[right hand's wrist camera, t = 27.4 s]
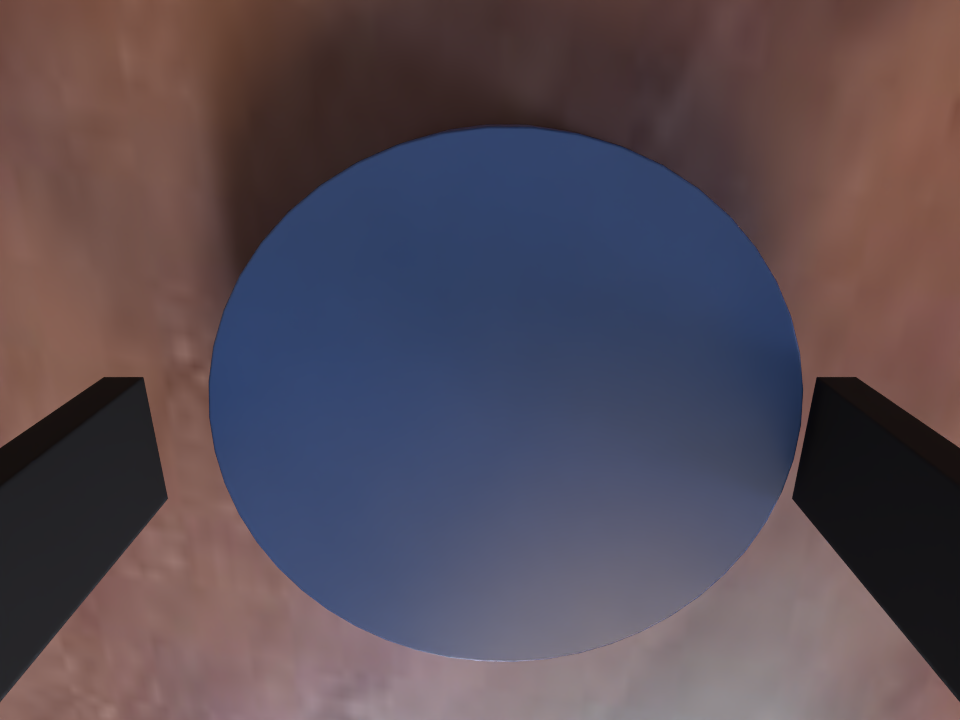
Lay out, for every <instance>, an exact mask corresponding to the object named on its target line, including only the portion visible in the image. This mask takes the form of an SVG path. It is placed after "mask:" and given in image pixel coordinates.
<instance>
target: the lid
mask: <svg viewBox="0 0 960 720" xmlns="http://www.w3.org/2000/svg"><path fill="white" fill-rule="evenodd" d="M802 399H803V383H802V372H801V360H800V351H799V347H798V343H797V339H796V335H795V331H794V327H793V322H792V318H791V315H790V313H789V310H788V308H787V306H786V303H785V301H784V298H783V296H782V293H781V291H780V288H779V286H778V284H777V281H776V280H775V278H774V276H773V275H772V273H771V271H770V270H769V268H768V266H767V265H766V263H765V261H764V260H763V258H762V256H761V255H760V253H759V251H758V250H757V248H756V247H755V246H754V244H753V243H752V242H751V241H750V240H749V238H748V237H747V236H746V235H745V234H744V232H743V231H742V230H741V229H740V228H739V226H738V225H737V224H736V223H735V222H734V220H733V219H732V218H731V217H730V216H729V215H728V214H727V213H726V212H725V211H724V210H722V209H721V208H720V207H719V206H718V205H717V204H716V203H714V202H713V201H712V200H711V199H710V198H709V197H708V196H707V195H705V194H704V193H703V192H702V191H701V190H700V189H699V188H697V187H696V186H694V185H693V184H691V183H690V182H688V181H686V180H685V179H683V178H682V177H680V176H679V175H677V174H676V173H674V172H673V171H671V170H670V169H668V168H667V167H665V166H663V165H662V164H660V163H657V162H655V161H653V160H651V159H649V158H647V157H644V156H642V155H640V154H638V153H636V152H634V151H631V150H629V149H627V148H625V147H623V146H620V145H617V144H613V143H610V142H606V141H603V140H600V139H596V138H593V137H590V136H586V135H583V134H580V133H575V132H570V131H565V130H559V129H553V128H546V127H539V126H532V125H521V124H486V125H478V126H471V127H463V128H455V129H449V130H445V131H442V132H438V133H435V134H431V135H427V136H424V137H420V138H417V139H413V140H410V141H407V142H404V143H400V144H397V145H395V146H393V147H391V148H388V149H386V150H384V151H381V152H379V153H377V154H375V155H372V156H370V157H368V158H365V159H363V160H361V161H358V162H357V163H355V164H353V165H352V166H350V167H348V168H347V169H345V170H344V171H342V172H340V173H339V174H337V175H336V176H334V177H332V178H331V179H329V180H327V181H326V182H324V183H323V184H321V185H320V186H318V187H317V188H316V189H315V190H314V191H313V192H311V193H310V194H309V195H308V196H307V197H305V198H304V199H303V200H302V201H301V202H299V203H298V204H297V205H296V206H295V207H293V208H292V209H291V210H290V211H289V212H288V213H287V214H286V215H285V216H284V217H283V218H282V219H281V221H280V222H279V223H278V224H277V225H276V226H275V227H274V228H273V230H272V231H271V232H270V233H269V234H268V235H267V236H266V237H265V239H264V240H263V241H262V242H261V243H260V245H259V246H258V248H257V249H256V251H255V253H254V254H253V256H252V257H251V259H250V260H249V262H248V263H247V265H246V266H245V268H244V269H243V271H242V272H241V274H240V276H239V278H238V280H237V282H236V284H235V286H234V289H233V291H232V293H231V295H230V297H229V300H228V302H227V304H226V306H225V308H224V311H223V314H222V318H221V321H220V325H219V328H218V332H217V335H216V339H215V342H214V346H213V353H212V360H211V368H210V376H209V418H210V424H211V431H212V437H213V443H214V449H215V453H216V457H217V460H218V463H219V466H220V470H221V473H222V476H223V479H224V482H225V485H226V487H227V489H228V491H229V494H230V496H231V498H232V500H233V502H234V504H235V506H236V509H237V511H238V513H239V515H240V516H241V518H242V519H243V521H244V523H245V524H246V526H247V527H248V529H249V530H250V532H251V534H252V535H253V537H254V538H255V540H256V541H257V543H258V544H259V545H260V546H261V548H262V549H263V550H264V551H265V552H266V554H267V555H268V556H269V557H270V559H271V560H272V561H273V562H274V563H275V565H276V566H277V567H278V568H279V569H280V570H281V571H282V572H283V573H284V574H285V575H286V576H287V577H289V578H290V579H291V580H292V581H293V582H294V583H295V584H296V585H297V586H298V587H299V588H300V589H301V590H302V591H304V592H305V593H306V594H308V595H309V596H310V597H312V598H313V599H314V600H316V601H317V602H318V603H320V604H321V605H322V606H324V607H325V608H326V609H328V610H329V611H331V612H333V613H334V614H336V615H338V616H339V617H341V618H343V619H345V620H346V621H348V622H350V623H351V624H353V625H355V626H357V627H359V628H361V629H363V630H365V631H368V632H370V633H372V634H374V635H376V636H379V637H381V638H383V639H385V640H388V641H391V642H394V643H397V644H400V645H403V646H406V647H409V648H412V649H415V650H419V651H423V652H428V653H432V654H437V655H441V656H446V657H451V658H460V659H468V660H476V661H504V662H517V661H529V660H541V659H550V658H555V657H561V656H566V655H572V654H577V653H581V652H585V651H588V650H592V649H595V648H599V647H602V646H605V645H609V644H612V643H615V642H617V641H619V640H622V639H624V638H627V637H629V636H632V635H634V634H637V633H639V632H641V631H643V630H645V629H647V628H649V627H651V626H653V625H655V624H657V623H658V622H660V621H662V620H664V619H666V618H668V617H670V616H671V615H673V614H674V613H676V612H677V611H679V610H680V609H682V608H683V607H684V606H686V605H687V604H689V603H690V602H692V601H693V600H695V599H696V598H698V597H699V596H700V595H701V594H702V593H704V592H705V591H706V590H707V589H708V588H709V587H710V586H712V585H713V584H714V583H715V582H716V581H717V580H718V579H720V578H721V577H722V576H723V575H724V574H725V573H726V572H727V571H728V570H729V569H730V567H731V566H732V565H733V564H734V563H735V562H736V561H737V560H738V559H739V558H740V556H741V555H742V554H743V553H744V552H745V551H746V550H747V548H748V547H749V546H750V544H751V543H752V541H753V540H754V538H755V537H756V536H757V534H758V533H759V531H760V530H761V528H762V527H763V526H764V524H765V523H766V521H767V519H768V517H769V515H770V513H771V512H772V510H773V508H774V506H775V504H776V502H777V500H778V498H779V496H780V494H781V493H782V490H783V487H784V485H785V482H786V479H787V476H788V474H789V471H790V468H791V465H792V463H793V460H794V455H795V450H796V446H797V441H798V436H799V432H800V427H801V414H802Z"/></svg>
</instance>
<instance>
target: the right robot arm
mask: <svg viewBox="0 0 960 720" xmlns="http://www.w3.org/2000/svg"><path fill="white" fill-rule="evenodd" d="M167 499H168V497H167V492H166V487H165V482H164V477H163V472H162V467H161V462H160V457H159V453H158V448H157V443H156V438H155V433H154V428H153V423H152V418H151V413H150V408H149V403H148V398H147V393H146V388H145V383H144V378H143V377H104V378H102V379H101V380H99V381H98V382H96V383H95V384H93V385H92V386H90V387H89V388H87V389H86V390H85V391H83V392H82V393H80V394H79V395H77V396H76V397H74V398H73V399H71V400H70V401H68V402H67V403H66V404H64V405H63V406H61V407H60V408H58V409H57V410H55V411H54V412H52V413H51V414H49V415H48V416H47V417H45V418H44V419H42V420H41V421H39V422H38V423H36V424H35V425H33V426H32V427H30V428H29V429H28V430H26V431H25V432H23V433H22V434H20V435H19V436H17V437H16V438H14V439H13V440H11V441H10V442H8V443H7V444H6V445H4V446H3V447H1V448H0V702H1V700H2V699H3V698H4V697H5V696H6V694H7V693H8V692H9V691H10V689H11V688H12V687H13V686H14V685H15V683H16V682H17V681H18V680H19V679H20V677H21V676H22V675H23V674H24V673H25V671H26V670H27V669H28V668H29V666H30V665H31V664H32V663H33V662H34V660H35V659H36V658H37V657H38V656H39V654H40V653H41V652H42V651H43V649H44V648H45V647H46V646H47V645H48V643H49V642H50V641H51V640H52V639H53V637H54V636H55V635H56V634H57V632H58V631H59V630H60V629H61V628H62V626H63V625H64V624H65V623H66V622H67V620H68V619H69V618H70V617H71V616H72V614H73V613H74V612H75V611H76V609H77V608H78V607H79V606H80V605H81V603H82V602H83V601H84V600H85V599H86V597H87V596H88V595H89V594H90V592H91V591H92V590H93V589H94V588H95V586H96V585H97V584H98V583H99V582H100V580H101V579H102V578H103V577H104V575H105V574H106V573H107V572H108V571H109V569H110V568H111V567H112V566H113V565H114V563H115V562H116V561H117V560H118V559H119V557H120V556H121V555H122V554H123V552H124V551H125V550H126V549H127V548H128V546H129V545H130V544H131V543H132V542H133V540H134V539H135V538H136V537H137V535H138V534H139V533H140V532H141V531H142V529H143V528H144V527H145V526H146V525H147V523H148V522H149V521H150V520H151V518H152V517H153V516H154V515H155V514H156V512H157V511H158V510H159V509H160V508H161V506H162V505H163V504H164V503H165V502H166V500H167ZM792 499H793V500H794V502H795V503H796V504H797V505H798V506H799V508H800V509H801V510H802V511H803V512H804V514H805V515H806V516H807V517H808V518H809V520H810V521H811V522H812V523H813V525H814V526H815V527H816V528H817V529H818V531H819V532H820V533H821V534H822V535H823V537H824V538H825V539H826V540H827V542H828V543H829V544H830V545H831V546H832V548H833V549H834V550H835V551H836V552H837V554H838V555H839V556H840V557H841V559H842V560H843V561H844V562H845V563H846V565H847V566H848V567H849V568H850V569H851V571H852V572H853V573H854V574H855V575H856V577H857V578H858V579H859V580H860V582H861V583H862V584H863V585H864V586H865V588H866V589H867V590H868V591H869V592H870V594H871V595H872V596H873V597H874V599H875V600H876V601H877V602H878V603H879V605H880V606H881V607H882V608H883V609H884V611H885V612H886V613H887V614H888V616H889V617H890V618H891V619H892V620H893V622H894V623H895V624H896V625H897V626H898V628H899V629H900V630H901V631H902V632H903V634H904V635H905V636H906V637H907V639H908V640H909V641H910V642H911V643H912V645H913V646H914V647H915V648H916V649H917V651H918V652H919V653H920V654H921V656H922V657H923V658H924V659H925V660H926V662H927V663H928V664H929V665H930V666H931V668H932V669H933V670H934V671H935V673H936V674H937V675H938V676H939V677H940V679H941V680H942V681H943V682H944V683H945V685H946V686H947V687H948V688H949V689H950V691H951V692H952V693H953V694H954V696H955V697H956V698H957V699H958V700H959V702H960V448H959V447H957V446H956V445H954V444H953V443H952V442H950V441H949V440H947V439H946V438H944V437H943V436H941V435H940V434H938V433H937V432H935V431H934V430H932V429H931V428H930V427H928V426H927V425H925V424H924V423H922V422H921V421H919V420H918V419H916V418H915V417H913V416H912V415H911V414H909V413H908V412H906V411H905V410H903V409H902V408H900V407H899V406H897V405H896V404H894V403H893V402H892V401H890V400H889V399H887V398H886V397H884V396H883V395H881V394H880V393H878V392H877V391H875V390H874V389H873V388H871V387H870V386H868V385H867V384H865V383H864V382H862V381H861V380H859V379H858V378H856V377H817V378H816V383H815V388H814V393H813V398H812V403H811V408H810V413H809V418H808V423H807V428H806V433H805V438H804V443H803V448H802V453H801V457H800V462H799V467H798V472H797V477H796V482H795V487H794V492H793V497H792Z"/></svg>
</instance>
